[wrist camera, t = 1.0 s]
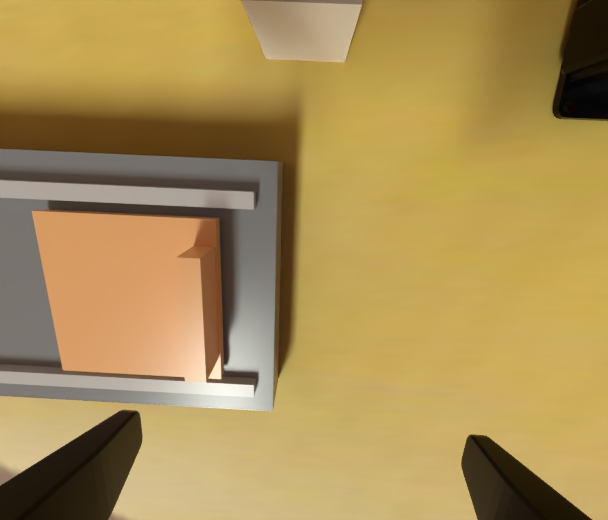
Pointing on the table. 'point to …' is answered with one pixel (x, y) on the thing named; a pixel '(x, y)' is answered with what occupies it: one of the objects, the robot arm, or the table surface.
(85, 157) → the socket block
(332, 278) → the table surface
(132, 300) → the shutter
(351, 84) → the table surface
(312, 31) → the plug
